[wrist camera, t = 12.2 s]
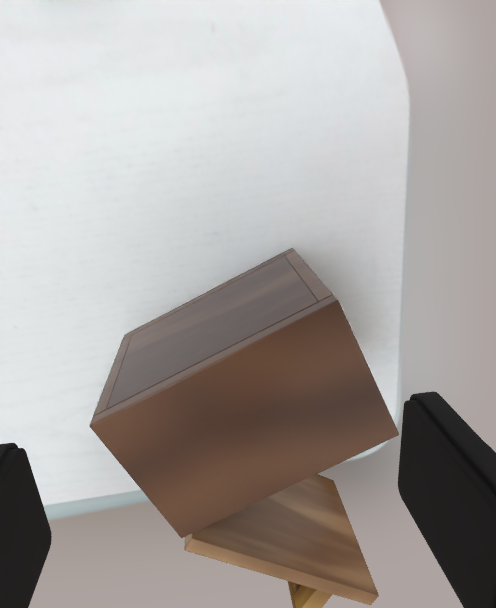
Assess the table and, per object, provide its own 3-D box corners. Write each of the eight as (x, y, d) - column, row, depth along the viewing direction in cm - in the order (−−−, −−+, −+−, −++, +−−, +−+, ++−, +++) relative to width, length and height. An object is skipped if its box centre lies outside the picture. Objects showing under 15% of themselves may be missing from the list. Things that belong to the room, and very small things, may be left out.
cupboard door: (297, 529, 39) (329, 654, 30) (160, 483, 36) (146, 608, 26) (333, 480, 38) (379, 595, 28) (193, 427, 34) (191, 538, 25)
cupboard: (340, 347, 33) (399, 435, 23) (186, 424, 34) (181, 539, 24) (292, 247, 30) (338, 299, 20) (123, 335, 31) (88, 425, 21)
